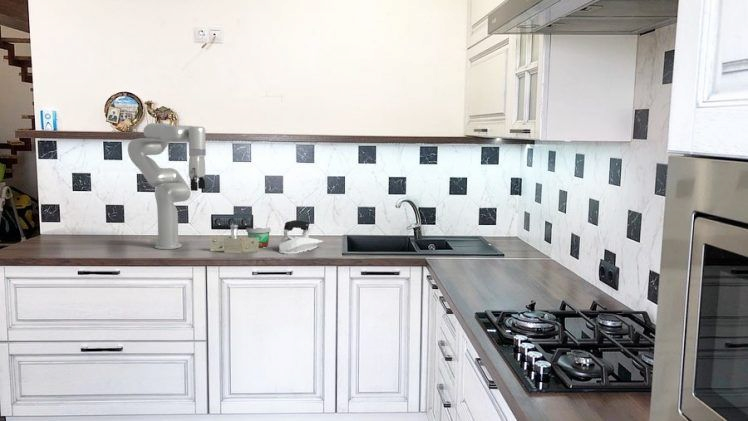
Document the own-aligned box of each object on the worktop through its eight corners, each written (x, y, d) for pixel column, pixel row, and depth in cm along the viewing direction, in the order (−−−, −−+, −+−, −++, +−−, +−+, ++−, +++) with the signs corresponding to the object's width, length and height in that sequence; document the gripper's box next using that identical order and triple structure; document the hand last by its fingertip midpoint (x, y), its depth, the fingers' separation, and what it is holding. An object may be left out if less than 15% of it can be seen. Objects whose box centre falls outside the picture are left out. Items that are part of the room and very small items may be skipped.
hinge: (207, 252, 311) (207, 237, 310) (213, 249, 318) (213, 235, 318) (256, 253, 309) (256, 239, 308) (260, 250, 316) (260, 236, 316)
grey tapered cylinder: (229, 252, 312) (229, 225, 310) (231, 250, 316) (231, 224, 314) (237, 252, 312) (236, 226, 310) (239, 250, 315) (239, 224, 314)
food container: (247, 249, 320) (246, 229, 319) (246, 246, 326) (246, 227, 325) (272, 248, 324) (272, 228, 322) (270, 246, 329) (270, 226, 328)
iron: (323, 248, 327) (323, 218, 325) (290, 255, 307) (290, 224, 306) (307, 245, 333) (307, 216, 331) (273, 252, 314) (273, 221, 312)
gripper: (196, 152, 311) (196, 187, 313) (182, 153, 294) (183, 191, 296) (211, 152, 310) (211, 188, 312) (198, 154, 293) (199, 191, 295)
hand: (197, 189), depth 304 cm, fingers open, 9 cm apart
